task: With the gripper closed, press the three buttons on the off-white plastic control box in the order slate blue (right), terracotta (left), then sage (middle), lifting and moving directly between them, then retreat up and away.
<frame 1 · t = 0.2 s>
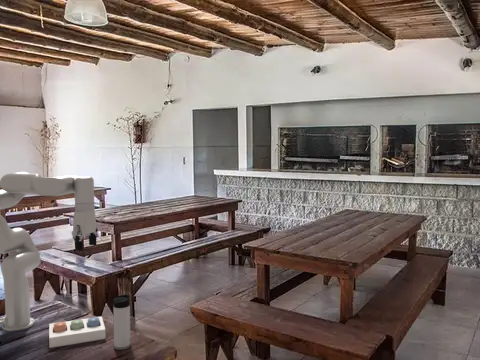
hand: (86, 247, 181), 36 cm above the table, tool pointing down, fingers open, 9 cm apart
travel mug: (122, 346, 173), on the table
sage button: (77, 326, 181), point 4 cm above the table, slide at 0.0 cm
slate button: (93, 324, 183), point 4 cm above the table, slide at 0.0 cm
terracotta button: (60, 329, 178), point 4 cm above the table, slide at 0.0 cm
button box: (77, 335, 181), on the table
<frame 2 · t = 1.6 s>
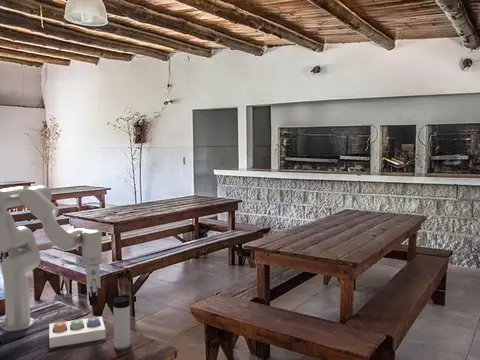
hand: (93, 302, 183), 13 cm above the table, tool pointing down, fingers open, 4 cm apart
nothing on the table moved.
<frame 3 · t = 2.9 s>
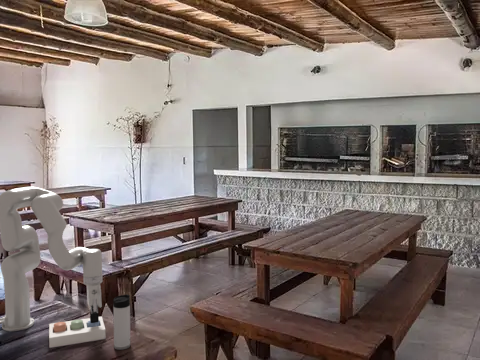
hand: (94, 321, 183), 5 cm above the table, tool pointing down, fingers closed
slate button: (93, 326, 183), point 3 cm above the table, slide at 1.0 cm, touching gripper
everything else where it was.
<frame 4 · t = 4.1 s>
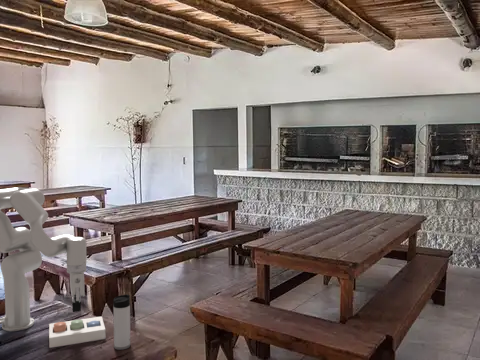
hand: (76, 310, 181), 11 cm above the table, tool pointing down, fingers closed
slate button: (93, 327, 184), point 2 cm above the table, slide at 1.5 cm
everything else where it was.
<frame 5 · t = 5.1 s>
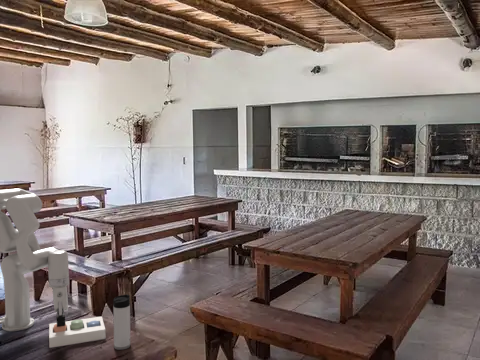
hand: (61, 325, 178), 6 cm above the table, tool pointing down, fingers closed
terracotta button: (60, 330, 178), point 4 cm above the table, slide at 0.4 cm, touching gripper
everything else where it was.
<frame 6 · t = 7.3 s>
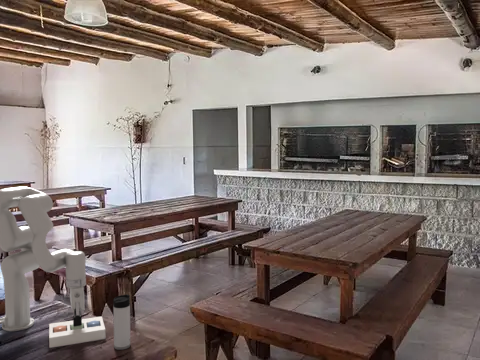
hand: (77, 325, 181), 5 cm above the table, tool pointing down, fingers closed
sage button: (77, 329, 181), point 3 cm above the table, slide at 1.4 cm, touching gripper
terracotta button: (60, 332, 178), point 2 cm above the table, slide at 1.5 cm
everything else where it was.
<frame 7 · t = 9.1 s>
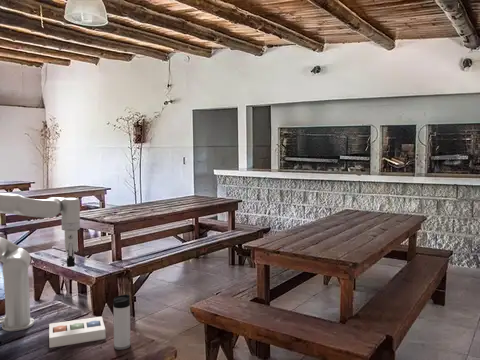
hand: (70, 266, 195), 24 cm above the table, tool pointing down, fingers closed
sage button: (77, 330, 181), point 2 cm above the table, slide at 1.5 cm
everything else where it was.
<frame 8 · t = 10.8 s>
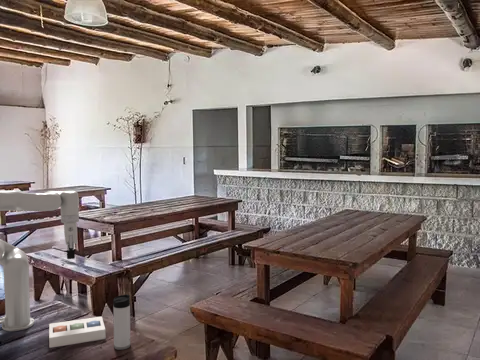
hand: (70, 258, 198), 27 cm above the table, tool pointing down, fingers closed
nothing on the table moved.
at the end: slate button slide at 1.5 cm; terracotta button slide at 1.5 cm; sage button slide at 1.5 cm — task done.
